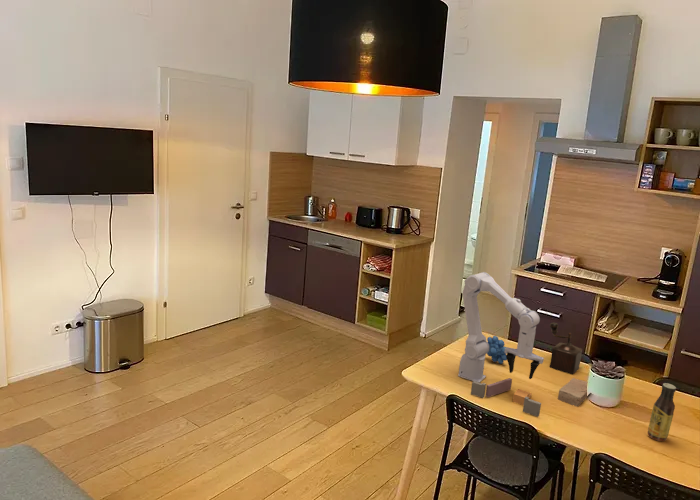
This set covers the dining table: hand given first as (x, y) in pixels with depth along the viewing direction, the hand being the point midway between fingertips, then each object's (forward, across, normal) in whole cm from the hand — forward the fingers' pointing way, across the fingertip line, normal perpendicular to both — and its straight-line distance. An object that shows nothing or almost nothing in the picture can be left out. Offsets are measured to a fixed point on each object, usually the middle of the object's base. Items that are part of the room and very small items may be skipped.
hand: (520, 375), depth 212 cm
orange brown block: (+9, +2, -2) cm, 9 cm away
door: (+8, -7, -4) cm, 12 cm away
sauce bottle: (+8, +48, +3) cm, 49 cm away
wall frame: (+9, -2, -11) cm, 14 cm away
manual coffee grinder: (+9, +5, +42) cm, 44 cm away
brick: (+9, +18, +16) cm, 25 cm away
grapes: (+9, -19, +24) cm, 32 cm away
